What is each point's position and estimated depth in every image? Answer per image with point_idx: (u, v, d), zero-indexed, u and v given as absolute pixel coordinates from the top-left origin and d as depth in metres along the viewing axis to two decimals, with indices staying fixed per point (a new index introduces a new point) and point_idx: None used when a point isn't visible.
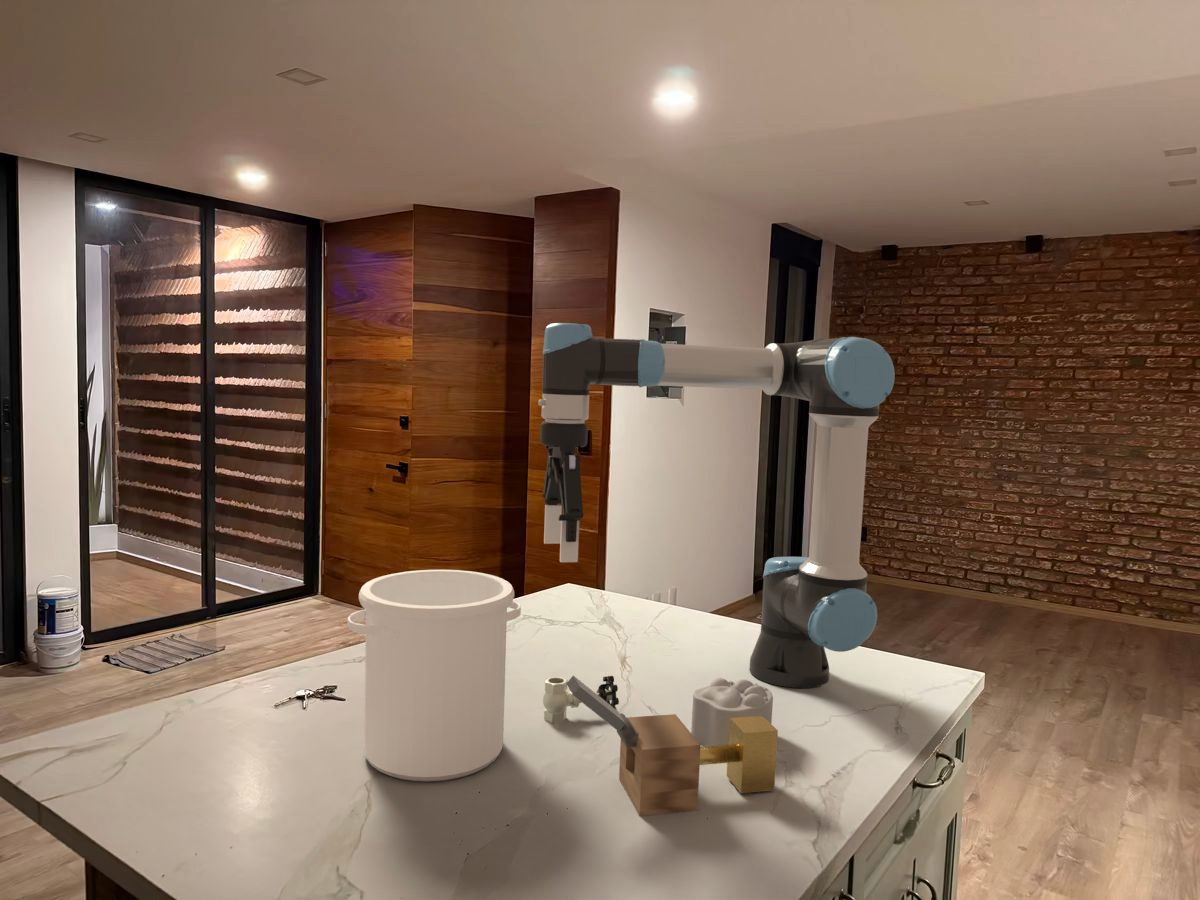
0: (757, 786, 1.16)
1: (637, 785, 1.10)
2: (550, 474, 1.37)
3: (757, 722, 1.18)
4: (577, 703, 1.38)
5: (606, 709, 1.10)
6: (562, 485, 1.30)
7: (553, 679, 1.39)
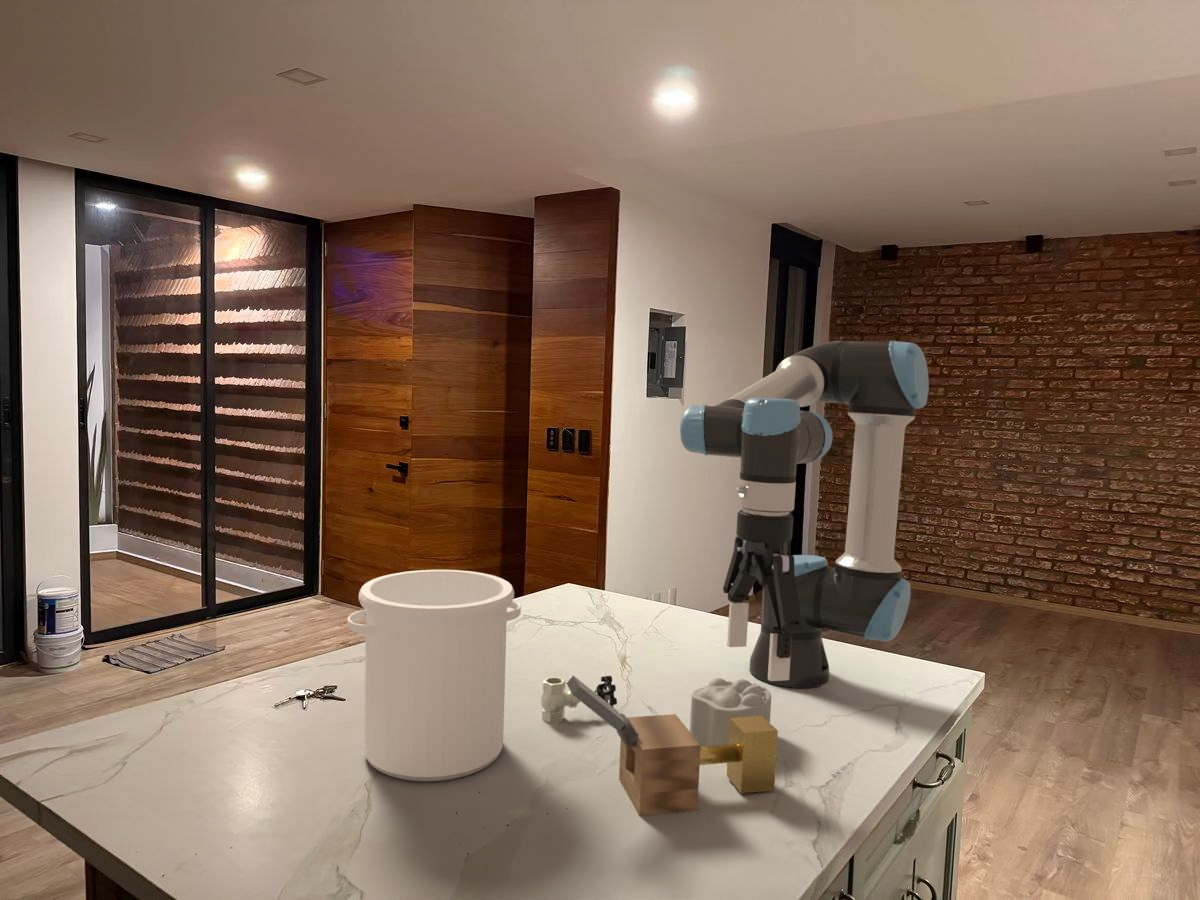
0: (757, 786, 1.16)
1: (637, 785, 1.10)
2: (743, 570, 1.17)
3: (757, 722, 1.18)
4: (575, 703, 1.38)
5: (606, 709, 1.10)
6: (770, 589, 1.10)
7: (551, 679, 1.39)
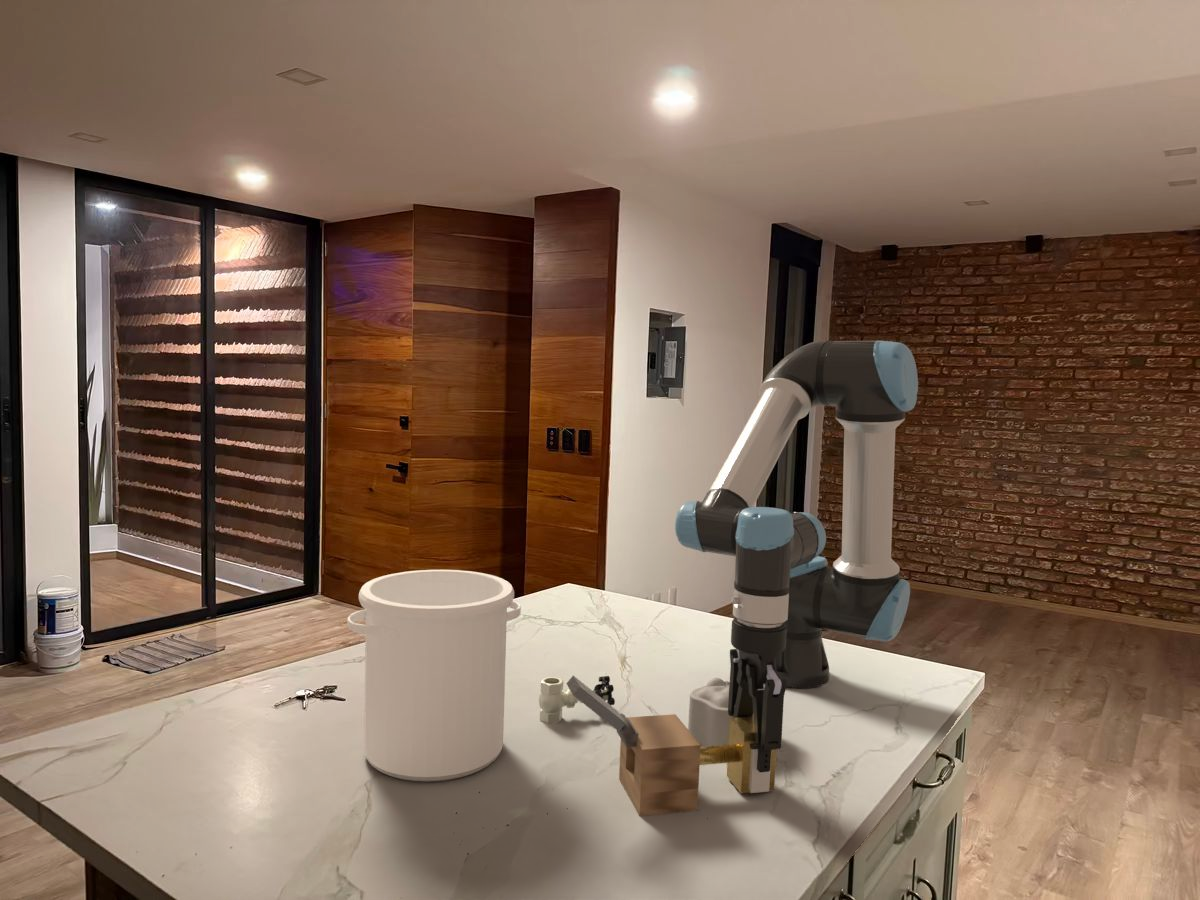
0: None
1: (637, 785, 1.10)
2: (741, 681, 1.18)
3: None
4: (572, 703, 1.38)
5: (606, 709, 1.10)
6: (758, 705, 1.14)
7: (549, 679, 1.39)
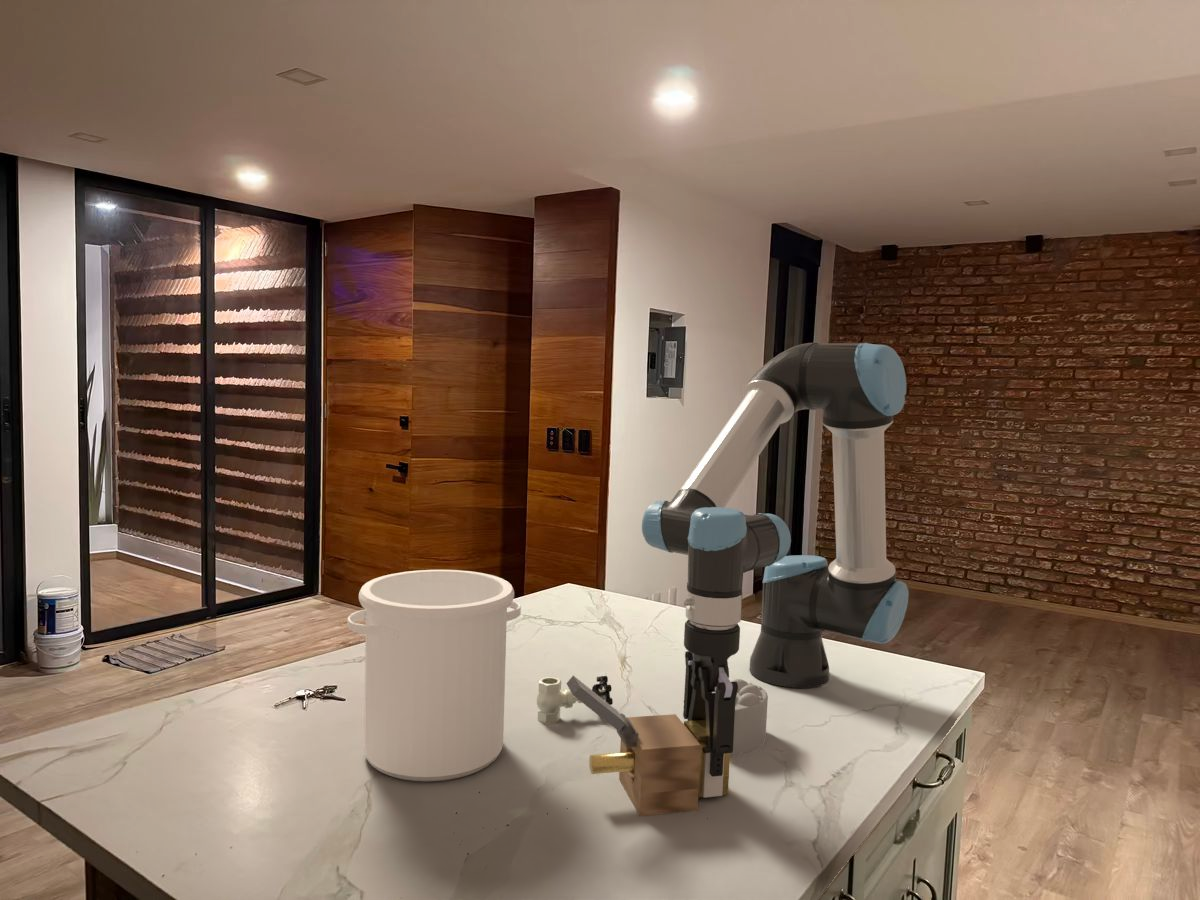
0: None
1: (637, 785, 1.10)
2: (695, 684, 1.16)
3: None
4: (570, 703, 1.38)
5: (606, 709, 1.10)
6: (710, 708, 1.12)
7: (547, 679, 1.39)
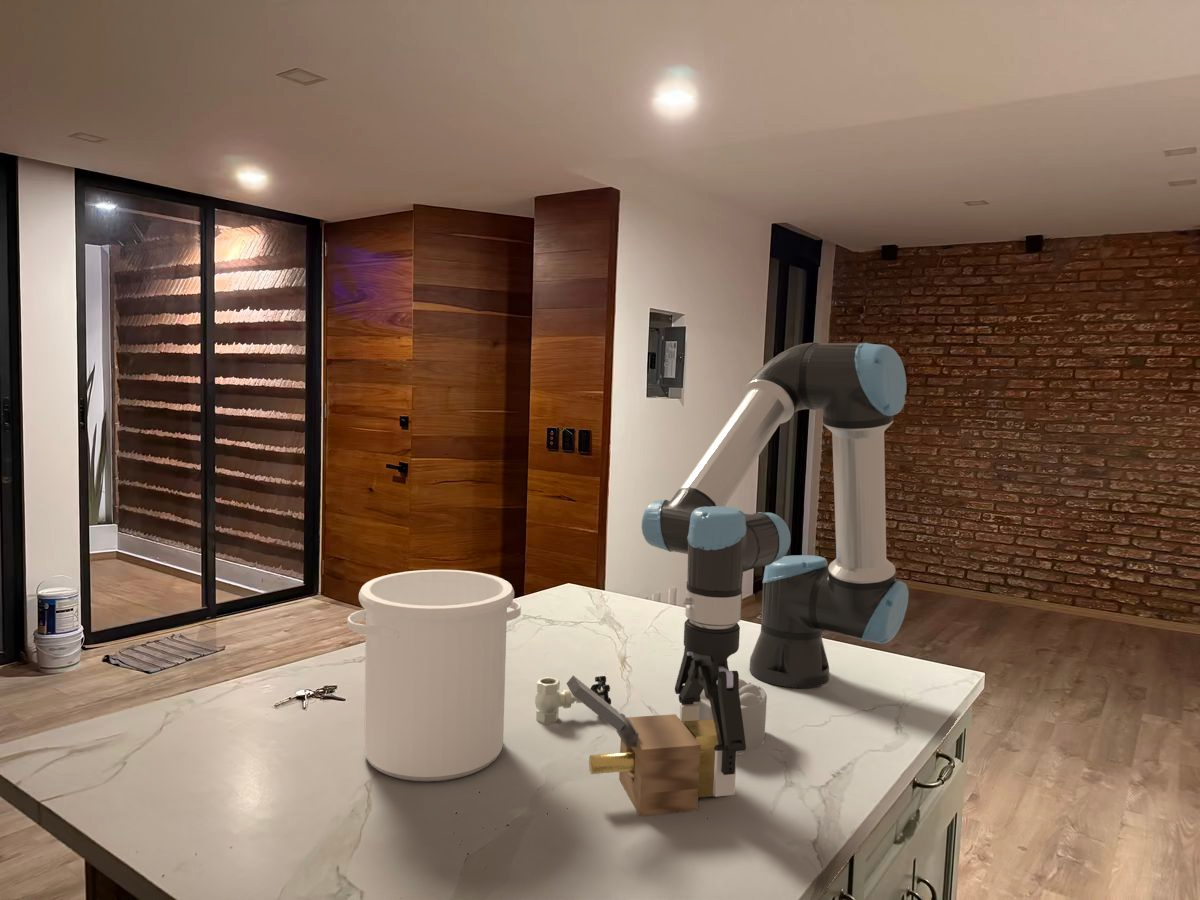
0: (710, 790, 1.14)
1: (637, 785, 1.10)
2: (692, 677, 1.17)
3: (711, 725, 1.16)
4: (569, 703, 1.37)
5: (606, 709, 1.10)
6: (715, 703, 1.10)
7: (545, 680, 1.39)
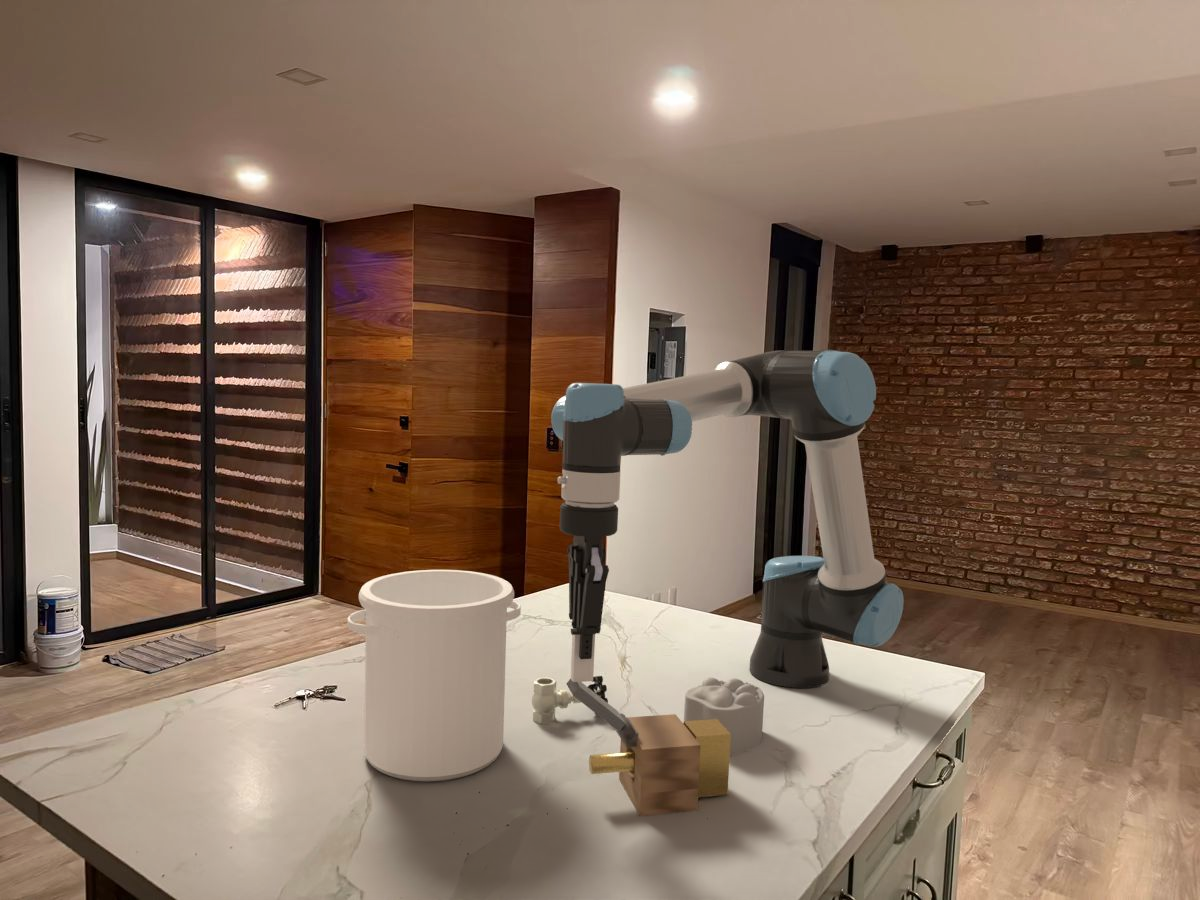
0: (710, 790, 1.14)
1: (637, 785, 1.10)
2: (574, 571, 1.09)
3: (711, 725, 1.16)
4: (566, 703, 1.37)
5: (606, 709, 1.10)
6: (581, 591, 1.07)
7: (542, 680, 1.38)
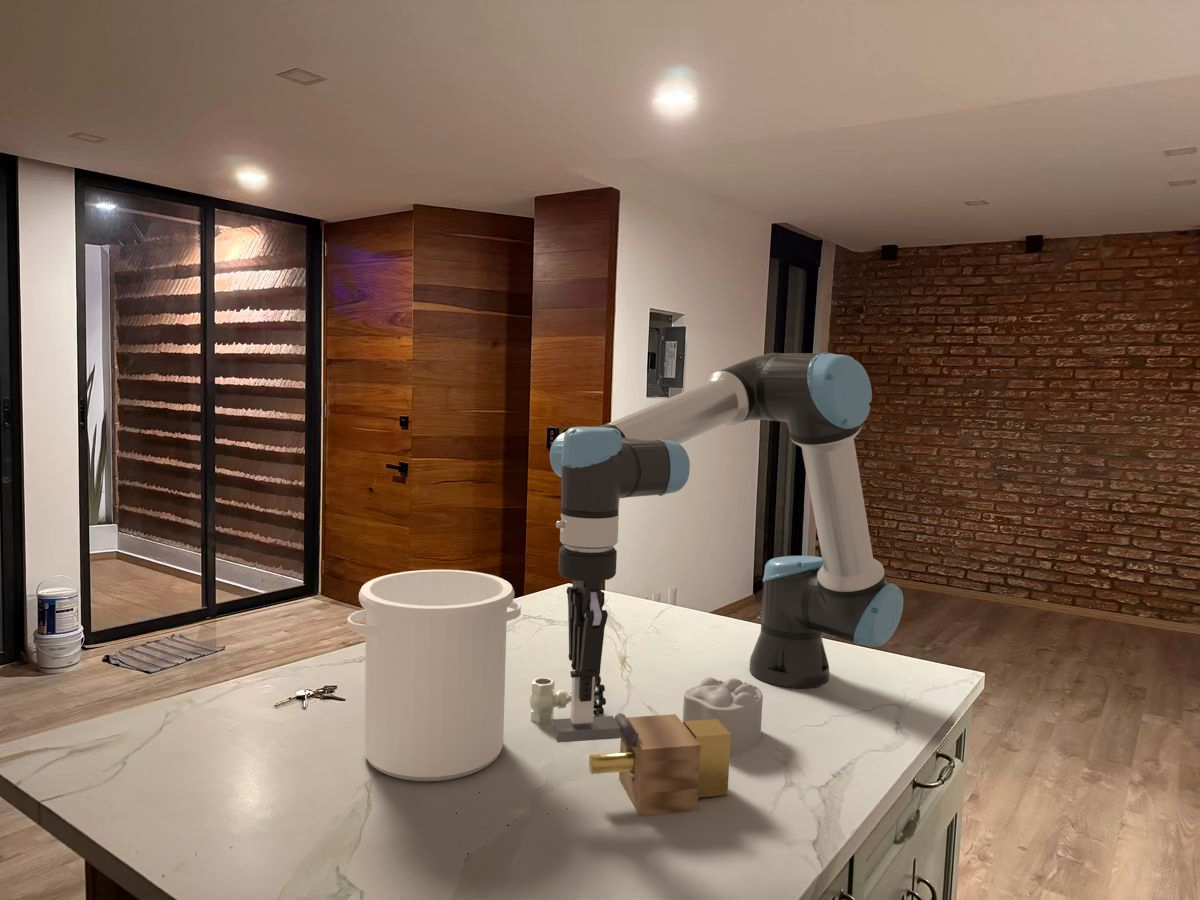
0: (710, 790, 1.14)
1: (637, 785, 1.10)
2: (573, 613, 1.10)
3: (711, 725, 1.16)
4: (564, 703, 1.37)
5: (595, 730, 1.10)
6: (581, 634, 1.08)
7: (540, 680, 1.38)
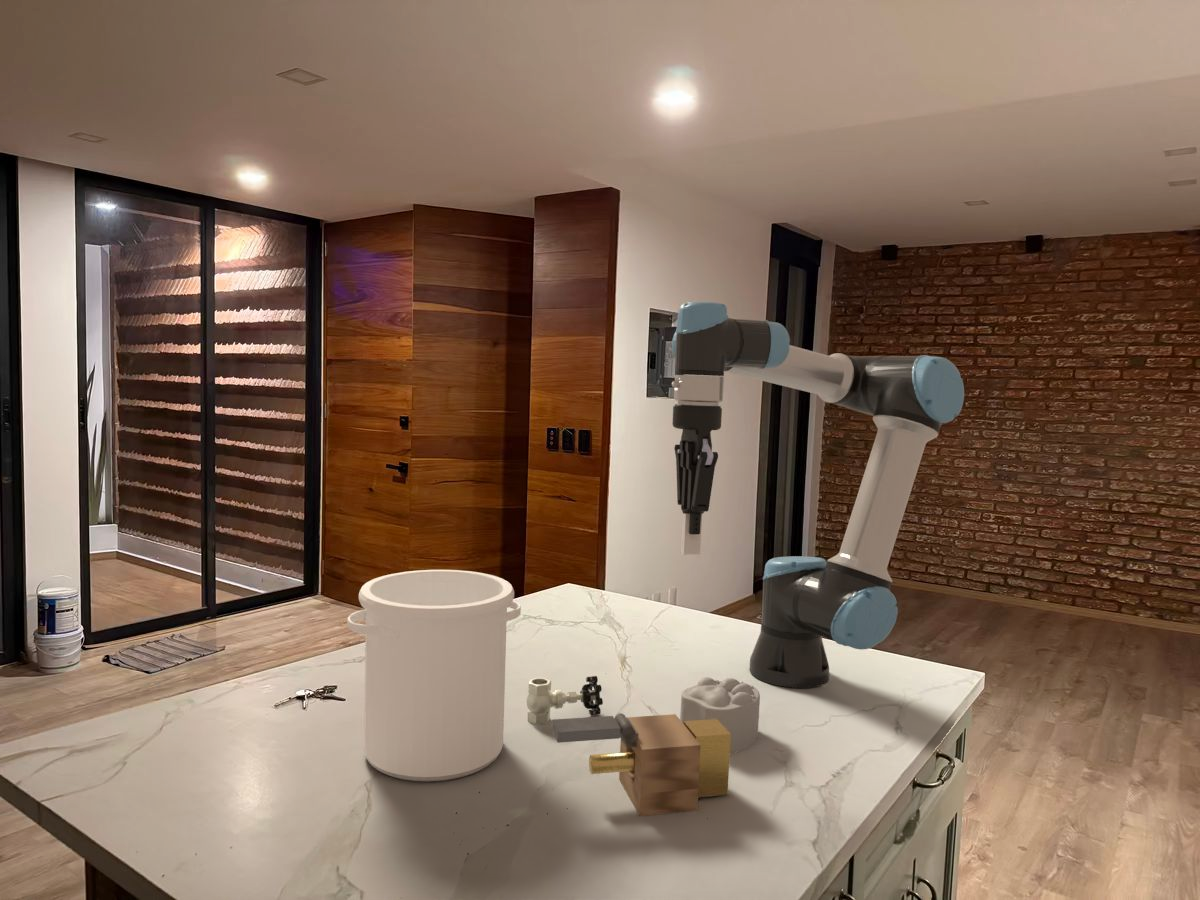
0: (710, 790, 1.14)
1: (637, 785, 1.10)
2: (684, 461, 1.31)
3: (711, 725, 1.16)
4: (560, 704, 1.37)
5: (595, 731, 1.10)
6: (692, 476, 1.29)
7: (536, 680, 1.38)
